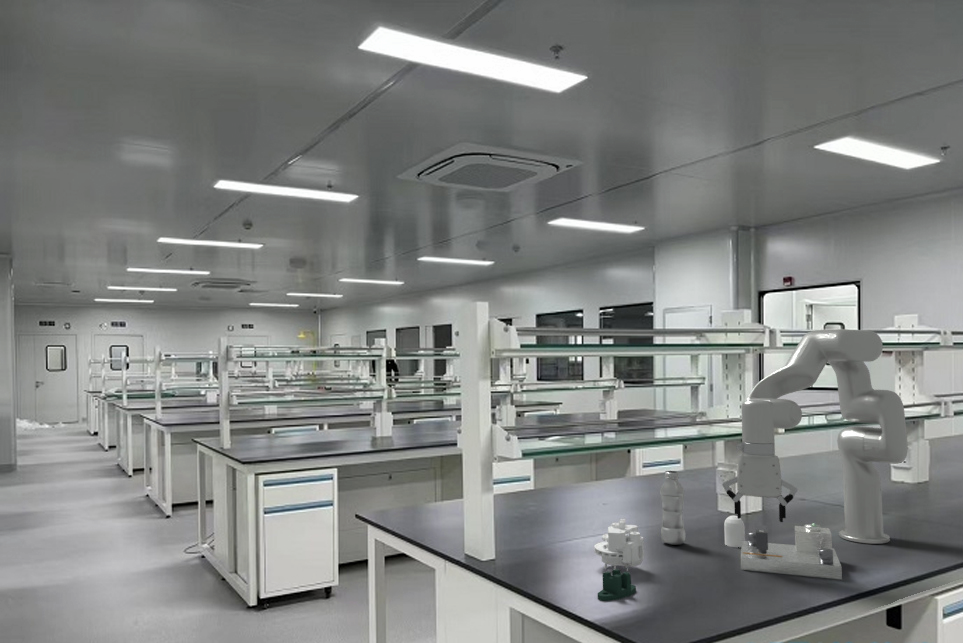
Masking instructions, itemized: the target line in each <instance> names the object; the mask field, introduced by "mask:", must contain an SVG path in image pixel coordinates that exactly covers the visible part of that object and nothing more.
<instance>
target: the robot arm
mask: <svg viewBox="0 0 963 643" xmlns="http://www.w3.org/2000/svg"><path fill="white" fill-rule="evenodd" d="M883 347H884V346H883V340H882V339H881V337H880V335H878V333H877V332H875V331H873V330H866V329H865V330H861V329H860V330H859V329H857V330H856V329H846V328H845V329H843V328H841V329H840V328H839V329H838V328H837V329H821V330H819V329H818V330H817V329H816V330H811V331H808V332H806V333H805V334H804V335H803V336H802V338H800V341H799V342H798V343H797V346H796V347H795V349H794V350H793V352H792V353H791V354H790V357H789V358H788V360H787V362H786V363H785V365H784V366H783V367H781V368H779V369H777V370H775V371H774V372H772V373H770V374H769V375H767V376H766V377H764V378H763V379H761V380H760V381H759V382H757V383H756V385H754V387H752V388H753V389H751V392H750V393H749V394H748V395H747V397H746V400H744V401H743V402H742V403H741V404H742V405H741V432H742V433H741V436H742V437H741V440H742V442H741V443H736V444H735V446H736V450H739V451H741V452H742V453H740V454H739V455H738V460H737V473H736V474H737V476H735V477H733V478H730V479H728V480H725V481H723V482H722V483H721V484H722V487H723V489H724V491H725V492H726V494H727V496H728V497H729V498H731V500H732V501H733V502H734V515H737V516H738V519H740V518H741V517H742V509H741V508H742V506H741V505H742V504H741V500H740V499H741V498H743V496H744V497H756V498H768V499H769V498H771V499H776V500H777V501H778V502H779V504H778V513H779V514H778V516H779V517H778V519H779V522H780V523H783V522H784V520H783V519H787V517H786V515H787V514H786V506H787V505H788V503H790V502H791V501H792V500H793V499H794V498H795V495H797V492H798V487H797V486H795V485H794V484H792V483H789V482H788V481H786V480H784V479H783V478H782V471H781V464H780V459H779V456H778V455H776V451H775V450H776V448H775V447H776V445H775V429H783V430H789V429H793V428H796V427H797V426H798V425H799V424H800V422H801V420H802V418H803V413H802V412H803V411H802V408H801V407H800V405H799V404H798V403H797V402H795V401H793V400H791V399H786V398H780V397H783V396H786V395H788V394H792V393H796V392H800V391H802V390H805V389H808V388H810V387H812V386H813V385H814V384H815V383H816V382H817V380H818V378H819V377H820V375H821V374H822V372H823V370H824V368H825V366H826V365H827V364H829V365H830V367H831V368H832V369H833V371H834V373H835V376H836V382H837V391H838V401H839V402H838V403H839V408H840V413H841V415H842V417H843V419H844V420H846V421H849V422H853V423H863V424H874V425H877V424H878V425H879V426H880V427H873V426H871V427H870V426H857V425H856V426H852V425H851V426H848V427H845V428H842V429H841V430H840V431H839V433H838V434H837V435H838V436H837V440H836V441H837V448H838V451H839V456H840V460H841V469H842V487H843V488H842V489H843V511H844V529H841V530H840V531H839V532H838V536H839V537H840V538H842V540H843V539H844V540H847V541H851V542H856V543H860V544H861V543H862V544H869V545H870V544H873V545H876V544H877V545H879V544H882V545H883V544H886V543H889V542H891V538H890V535H888V534H887V533H884V521H883V520H884V519H883V502H882V501H883V497H882V496H883V495H882V478H881V474H880V472H879V470H878V468H877V466H876V465H875V464H874V462H875V463H881V464H893V465H896V464H901V463H903V462H904V461H905V460H906V458H907V456H908V451H909V450H908V448H909V446H908V435H907V425H906V424H907V423H906V415H905V407H904V403H903V401H902V399H901V397H900V395H898V393H896V392H894V391H893V390H888V389H873V385H872V381H871V373H870V370H869V368H868V365H866V362H868V363H869V362H870V363H871V362H874V361H876V360H877V359H878V358H880V356H881V355H882V352H883ZM735 484H736V486H737V492H736V493H735V492H734V491H733V490H732V489H731V488H730V487H731V486H732V485H735ZM783 487H784V488H786V489H788V490H789V492H788V494H787V495H786V496H785V497H784V496H783V495H782V494H783V493H782V492H783V490H782V488H783ZM741 519H742V518H741Z"/></svg>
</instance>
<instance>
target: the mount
mask: <svg viewBox="0 0 963 643" xmlns="http://www.w3.org/2000/svg"><path fill="white" fill-rule="evenodd" d="M636 592H637V586H636V585H634V584H632V577H631V573H630V572H629V571H624V572H621V569H618V568H616V569H615V570H614V569H612V571H604V572H603V573H602V590H599V592H597V600H598V601H601V602H608V601H617V600H621V599H625V598H628V597H632V596H633V595H634V594H635V593H636Z"/></svg>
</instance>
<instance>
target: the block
mask: <svg viewBox="0 0 963 643" xmlns="http://www.w3.org/2000/svg"><path fill="white" fill-rule="evenodd" d="M755 532H756V549H758V553H761V554H766V553H767V550H768V543H769V542H768V540H769V538H768V525H763V524H755Z"/></svg>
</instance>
